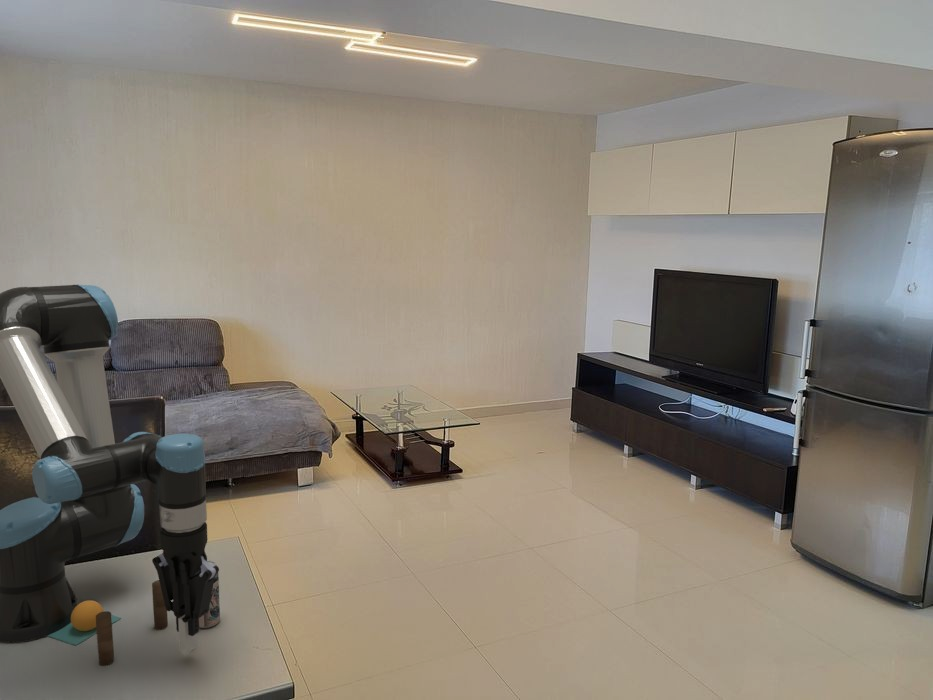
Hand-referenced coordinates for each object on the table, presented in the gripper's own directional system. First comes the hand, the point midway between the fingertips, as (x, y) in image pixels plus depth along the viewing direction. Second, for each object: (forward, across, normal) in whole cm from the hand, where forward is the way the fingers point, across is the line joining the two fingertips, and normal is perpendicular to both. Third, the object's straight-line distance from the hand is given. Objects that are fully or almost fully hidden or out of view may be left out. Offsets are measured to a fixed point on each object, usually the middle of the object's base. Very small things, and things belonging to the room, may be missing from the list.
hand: (188, 649), depth 124 cm
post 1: (+2, -13, -6) cm, 14 cm away
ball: (0, -24, 0) cm, 25 cm away
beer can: (+3, -6, +11) cm, 12 cm away
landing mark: (+2, -27, 0) cm, 27 cm away
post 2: (+2, -13, +6) cm, 14 cm away
